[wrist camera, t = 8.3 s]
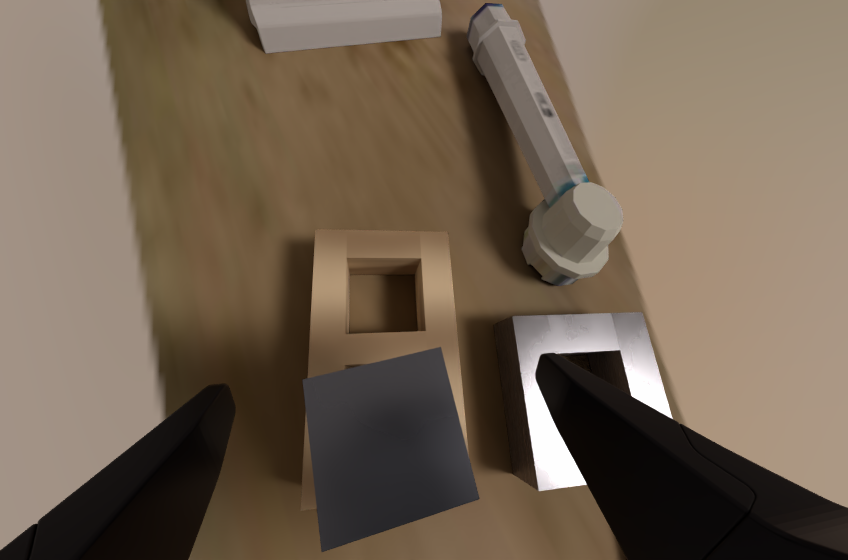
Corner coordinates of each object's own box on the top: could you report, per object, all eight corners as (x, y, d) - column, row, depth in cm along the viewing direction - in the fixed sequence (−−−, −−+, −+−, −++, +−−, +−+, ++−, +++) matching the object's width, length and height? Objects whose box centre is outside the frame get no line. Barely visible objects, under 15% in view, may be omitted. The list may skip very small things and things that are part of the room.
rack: (455, 471, 18) (471, 488, 15) (312, 488, 16) (300, 510, 14) (438, 251, 22) (447, 231, 19) (323, 249, 21) (315, 229, 18)
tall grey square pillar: (418, 424, 18) (479, 498, 6) (368, 438, 18) (321, 551, 5) (407, 373, 19) (440, 346, 7) (359, 385, 19) (302, 379, 6)
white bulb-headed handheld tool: (522, 0, 27) (674, 234, 17) (496, 77, 33) (597, 285, 23) (466, -4, 26) (594, 244, 16) (450, 77, 32) (535, 295, 22)
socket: (642, 458, 20) (687, 470, 17) (513, 474, 18) (538, 491, 16) (608, 320, 23) (642, 312, 20) (493, 324, 21) (512, 316, 18)
